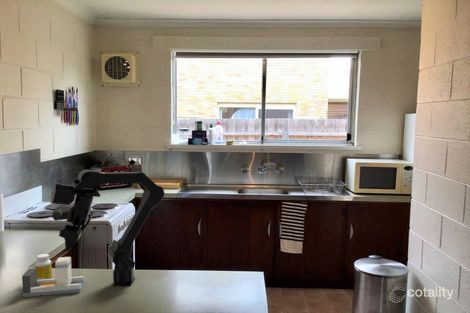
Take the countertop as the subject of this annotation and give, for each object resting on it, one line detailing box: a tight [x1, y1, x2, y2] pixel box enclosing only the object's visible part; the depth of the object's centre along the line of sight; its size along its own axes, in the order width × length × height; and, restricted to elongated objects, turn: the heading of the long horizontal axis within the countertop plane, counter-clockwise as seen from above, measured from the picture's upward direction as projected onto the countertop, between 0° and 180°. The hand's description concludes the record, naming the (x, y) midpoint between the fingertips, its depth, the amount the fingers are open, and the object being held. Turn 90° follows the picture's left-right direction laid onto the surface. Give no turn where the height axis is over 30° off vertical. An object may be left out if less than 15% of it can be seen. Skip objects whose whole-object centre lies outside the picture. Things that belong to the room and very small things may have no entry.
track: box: [21, 267, 85, 298], centre depth 136 cm, size 18×8×7 cm, turn 101°
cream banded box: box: [54, 256, 73, 285], centre depth 136 cm, size 4×5×9 cm
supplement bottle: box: [34, 253, 53, 280], centre depth 144 cm, size 5×5×10 cm
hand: (71, 243), depth 137 cm, fingers open, 9 cm apart
